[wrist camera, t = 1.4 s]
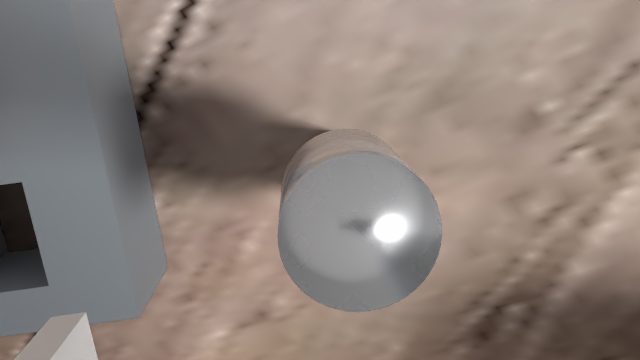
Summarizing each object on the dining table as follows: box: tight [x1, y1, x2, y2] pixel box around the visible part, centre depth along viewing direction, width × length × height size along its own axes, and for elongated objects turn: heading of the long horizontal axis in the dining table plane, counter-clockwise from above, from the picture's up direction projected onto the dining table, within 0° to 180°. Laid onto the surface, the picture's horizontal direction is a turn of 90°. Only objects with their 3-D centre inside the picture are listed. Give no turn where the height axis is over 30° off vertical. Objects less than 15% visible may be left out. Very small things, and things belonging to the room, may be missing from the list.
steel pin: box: [278, 129, 442, 312], centre depth 25 cm, size 6×6×12 cm
